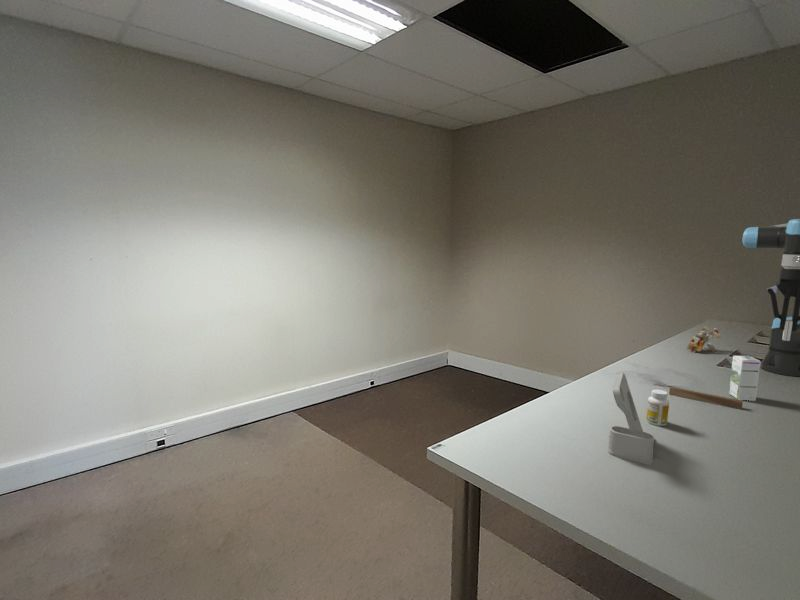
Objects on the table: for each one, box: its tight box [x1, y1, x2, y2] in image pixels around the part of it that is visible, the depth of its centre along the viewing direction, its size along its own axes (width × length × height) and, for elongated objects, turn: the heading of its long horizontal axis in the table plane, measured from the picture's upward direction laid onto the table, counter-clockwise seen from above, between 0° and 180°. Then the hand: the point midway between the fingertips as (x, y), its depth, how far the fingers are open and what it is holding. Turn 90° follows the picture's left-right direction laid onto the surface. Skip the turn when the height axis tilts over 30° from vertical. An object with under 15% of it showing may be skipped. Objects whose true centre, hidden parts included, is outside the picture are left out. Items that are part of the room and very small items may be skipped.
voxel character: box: [686, 325, 722, 354], centre depth 201 cm, size 11×10×15 cm
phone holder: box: [607, 372, 655, 465], centre depth 108 cm, size 17×10×18 cm, turn 147°
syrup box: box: [728, 355, 762, 402], centre depth 142 cm, size 6×6×14 cm
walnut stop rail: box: [668, 386, 744, 410], centre depth 140 cm, size 2×20×2 cm, turn 50°
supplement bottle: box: [645, 389, 670, 427], centre depth 123 cm, size 5×5×10 cm
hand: (786, 339), depth 134 cm, fingers closed
